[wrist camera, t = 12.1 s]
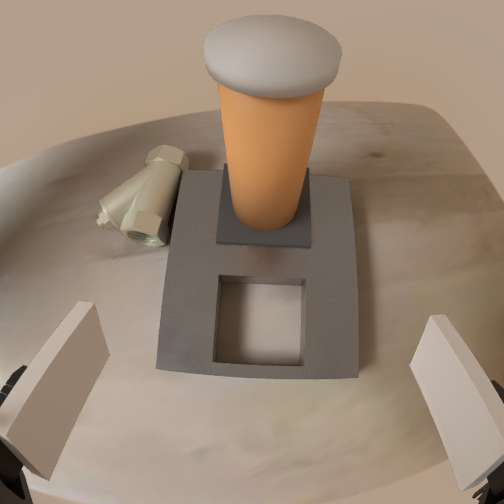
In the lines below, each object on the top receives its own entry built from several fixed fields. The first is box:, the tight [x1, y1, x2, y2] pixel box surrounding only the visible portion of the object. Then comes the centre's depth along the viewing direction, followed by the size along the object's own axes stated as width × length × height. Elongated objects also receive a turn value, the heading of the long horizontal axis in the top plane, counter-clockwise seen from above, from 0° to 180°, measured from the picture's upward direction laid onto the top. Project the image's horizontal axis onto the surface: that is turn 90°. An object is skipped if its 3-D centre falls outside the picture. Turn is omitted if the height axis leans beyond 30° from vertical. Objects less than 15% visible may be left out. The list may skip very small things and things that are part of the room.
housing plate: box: [156, 170, 359, 379], centre depth 23 cm, size 14×16×2 cm
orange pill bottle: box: [204, 15, 342, 231], centre depth 17 cm, size 6×6×14 cm
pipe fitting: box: [96, 145, 190, 247], centre depth 25 cm, size 8×4×7 cm
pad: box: [216, 164, 312, 247], centre depth 24 cm, size 7×7×1 cm
